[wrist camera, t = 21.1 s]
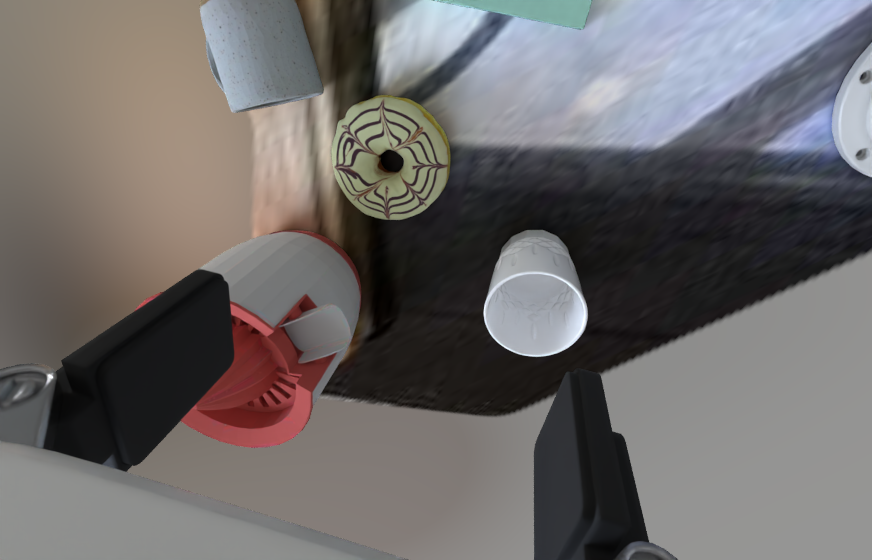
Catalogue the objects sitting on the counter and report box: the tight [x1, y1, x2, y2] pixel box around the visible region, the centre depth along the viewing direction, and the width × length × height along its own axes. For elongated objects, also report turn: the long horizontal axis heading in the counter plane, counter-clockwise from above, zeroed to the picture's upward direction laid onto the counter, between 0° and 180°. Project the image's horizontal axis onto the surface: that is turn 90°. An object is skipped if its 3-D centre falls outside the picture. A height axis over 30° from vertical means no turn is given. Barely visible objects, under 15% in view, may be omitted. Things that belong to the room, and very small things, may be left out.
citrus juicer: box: [135, 230, 361, 448], centre depth 39 cm, size 16×17×20 cm
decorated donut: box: [331, 95, 450, 220], centre depth 38 cm, size 10×11×4 cm
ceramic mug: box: [200, 0, 324, 113], centre depth 34 cm, size 11×8×8 cm
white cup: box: [484, 230, 588, 356], centre depth 38 cm, size 8×8×10 cm
